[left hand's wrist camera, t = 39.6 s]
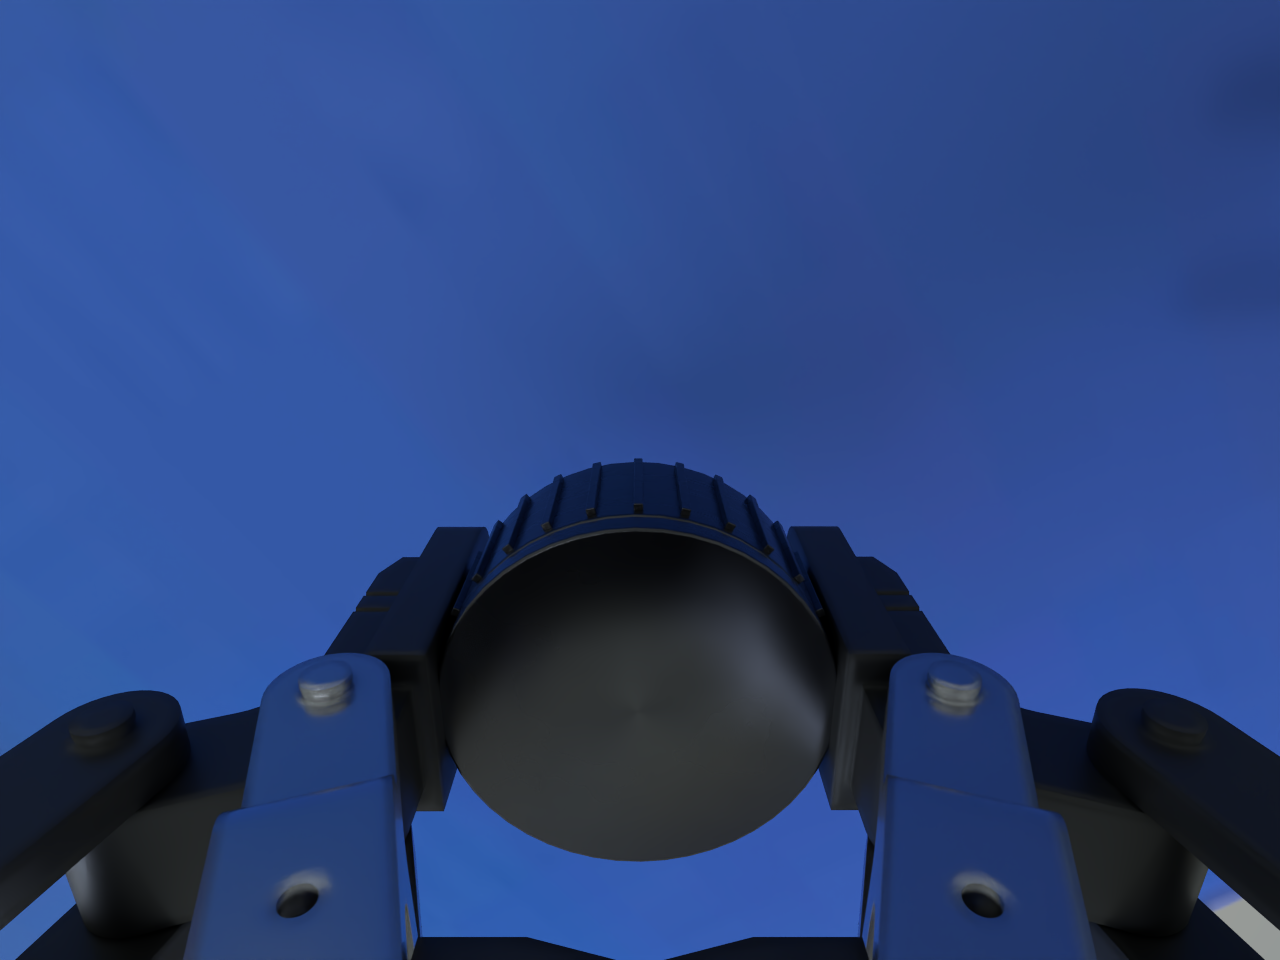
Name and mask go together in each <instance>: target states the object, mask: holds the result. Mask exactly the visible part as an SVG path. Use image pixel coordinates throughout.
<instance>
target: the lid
mask: <svg viewBox="0 0 1280 960" xmlns="http://www.w3.org/2000/svg"><path fill="white" fill-rule="evenodd" d="M451 615H453V616H455V617H457V618H456V620H455V623H454V625H453V628H452V630H451V632H450V635H449V637H448V639H447V642H446V644H445V647H444V650H443V654H442V658H441V662H440V665H439V670H438V679H439V690H440V699H441V708H442V717H443V726H444V734H445V741H446V745H447V748H448V751H449V753H450V756H451V757H452V759H453V761H454V763H455V765H456V766H457V768H458V770H459V772H460V774H461V775H462V776H463V778H464V779H465V780H466V782H467V783H468V784H469V786H470V787H471V788H472V790H473V791H474V792H475V793H476V794H477V795H478V796H479V797H480V798H481V799H482V800H483V801H484V802H485V803H486V805H487V806H488V807H489V808H491V809H492V810H493V811H494V812H496V813H497V814H498V815H499V816H501V817H502V818H503V819H504V820H506V821H507V822H508V823H510V824H512V825H513V826H515V827H516V828H518V829H520V830H521V831H523V832H524V833H526V834H528V835H530V836H532V837H534V838H536V839H538V840H540V841H543V842H545V843H547V844H549V845H552V846H555V847H558V848H561V849H563V850H566V851H569V852H573V853H577V854H581V855H585V856H589V857H594V858H601V859H608V860H616V861H640V862H641V861H657V860H668V859H674V858H680V857H686V856H691V855H695V854H698V853H702V852H706V851H709V850H713V849H715V848H718V847H720V846H723V845H726V844H728V843H731V842H733V841H735V840H737V839H739V838H741V837H743V836H745V835H747V834H749V833H751V832H753V831H754V830H756V829H758V828H759V827H761V826H762V825H764V824H765V823H767V822H768V821H770V820H771V819H773V818H774V817H775V816H776V815H777V814H779V813H780V812H781V811H782V810H783V809H784V808H786V807H787V806H788V805H789V804H790V803H791V802H792V801H793V800H794V799H795V798H796V797H797V796H798V794H799V793H800V792H801V791H802V790H803V789H804V788H805V787H806V785H807V784H808V782H809V781H810V780H811V778H812V777H813V775H814V774H815V772H816V771H817V770H818V768H819V766H820V764H821V762H822V760H823V758H824V756H825V754H826V752H827V750H828V747H829V741H830V734H831V725H832V716H833V707H834V698H835V689H836V678H837V668H836V662H835V658H834V655H833V652H832V649H831V646H830V642H829V640H828V637H827V635H826V632H825V630H824V628H823V626H822V623H821V621H820V618H819V617H822V616H824V615H825V613H824V610H823V608H822V606H821V603H820V601H819V599H818V597H817V594H816V592H815V590H814V587H813V585H812V583H811V581H810V578H809V576H808V574H807V571H806V569H805V567H804V565H803V562H802V560H801V558H800V555H799V553H798V551H796V552H794V553H793V551H792V548H791V546H790V544H789V541H788V539H787V537H786V534H785V532H784V530H783V527H782V525H781V524H780V523H779V521H776V522H775V523H773V522H772V521H771V520H770V519H769V518H768V517H767V516H766V515H765V514H764V512H763V511H762V510H761V509H760V508H759V507H758V504H757V501H756V499H755V498H754V497H753V496H751V495H749V496H748V497H747V498H746V497H745V496H744V495H743V494H741V493H739V492H738V491H736V490H735V489H733V488H731V487H730V486H728V485H726V484H725V483H724V482H723V479H722V477H720V476H718V475H715V476H714V478H712V477H709V476H707V475H705V474H702V473H699V472H696V471H693V470H689V469H686V468H684V464H682V463H677V462H676V464H675V466H672V465H666V464H660V463H644V462H642V459H634V462H630V463H617V464H609V465H604V466H602V465H601V462H599V463H594V464H593V467H592V468H589V469H586V470H583V471H580V472H577V473H574V474H571V475H568V476H566V477H564V478H563V477H562V475H561V474H560V475H558V476H556V477H554V480H553V483H551V484H549V485H547V486H546V487H544V488H543V489H541V490H540V491H538V492H537V493H535V494H534V495H532V496H531V497H529V496H528V495H527V494H526V495H524V496H523V497H522V498H521V499H520V502H519V505H518V507H517V508H516V509H515V510H514V511H513V512H512V513H511V514H510V515H509V516H508V518H507V519H506V520H505V521H504V522H503V523H502V522H501V521H499V520H498V521H497V522H496V524H495V525H494V527H493V529H492V532H491V534H490V536H489V539H488V541H487V544H486V546H485V548H484V551H483V552H481V551H478V553H477V555H476V557H475V559H474V562H473V564H472V566H471V569H470V571H469V573H468V575H467V578H466V580H465V582H464V585H463V587H462V589H461V591H460V594H459V596H458V598H457V601H456V603H455V605H454V607H453V610H452V612H451Z"/></svg>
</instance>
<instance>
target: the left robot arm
mask: <svg viewBox="0 0 1280 960" xmlns="http://www.w3.org/2000/svg"><path fill="white" fill-rule="evenodd" d="M488 539H489V535H488V531H487V529H486V527H438V528H437V529H436V530H435V532H434V534H433V535H432V537H431V539H430V540H429V542H428V544H427V546H426V547H425V549H424V551H423V552H422V554H421V556H420V557H403V558H401V559H400V560H398V561H397V562H395V563H394V564H392V565H391V566H389V567H388V568H386V569H385V570H383V571H382V572H380V573H379V574H378V575H377V577H376V578H375V580H374V581H373V583H372V584H371V586H370V587H369V589H368V590H367V592H366V596H363V598H362V599H361V601H360V602H359V604H358V605H357V607H356V612H353V613H352V614H351V616H350V617H349V619H348V620H347V622H346V623H345V625H344V626H343V628H342V629H341V631H340V632H339V634H338V635H337V637H336V638H335V640H334V641H333V643H332V644H331V646H330V647H329V649H328V650H327V652H326V653H325V655H324V656H320V657H316V658H313V659H310V660H307V661H305V662H302V663H300V664H297V665H296V666H294V667H292V668H290V669H288V670H286V671H285V672H283V673H282V674H280V675H279V676H278V677H277V678H276V679H274V680H273V681H272V682H271V684H270V685H269V686H268V687H267V689H266V690H265V692H264V694H263V697H262V699H261V705H260V707H257V708H254V709H251V710H248V711H244V712H239V713H235V714H230V715H225V716H220V717H215V718H210V719H205V720H200V721H195V722H190V723H186V724H185V722H184V718H183V715H182V711H181V707H180V705H179V702H178V701H177V700H176V699H175V698H174V697H173V696H171V695H169V694H166V693H163V692H159V691H150V690H148V691H130V692H124V693H118V694H114V695H110V696H106V697H103V698H100V699H97V700H94V701H91V702H89V703H86V704H84V705H82V706H79V707H77V708H75V709H73V710H71V711H69V712H67V713H65V714H64V715H62V716H60V717H59V718H57V719H56V720H54V721H53V722H51V723H50V724H48V725H47V726H45V727H44V728H42V729H41V730H39V731H38V732H36V733H35V734H33V735H32V736H30V737H29V738H27V739H26V740H24V741H23V742H21V743H20V744H18V745H17V746H15V747H14V748H12V749H11V750H9V751H8V752H6V753H5V754H3V755H2V756H0V930H1V929H2V928H4V927H5V926H6V925H7V924H8V923H9V922H10V921H12V920H13V919H14V918H15V917H16V916H17V915H18V914H20V913H21V912H22V911H23V910H24V909H25V908H26V907H28V906H29V905H30V904H31V903H32V902H33V901H34V900H36V899H37V898H38V897H39V896H40V895H41V894H42V893H44V892H45V891H46V890H47V889H48V888H49V887H51V886H52V885H53V884H54V883H55V882H56V881H57V880H59V879H60V878H61V877H62V876H63V875H64V874H66V877H67V879H68V882H69V885H70V887H71V890H72V893H73V896H74V898H75V901H76V904H75V905H74V906H73V907H72V908H71V909H70V910H69V911H68V912H66V913H65V914H64V915H63V916H62V917H61V918H60V919H59V920H58V921H57V922H56V923H55V924H53V925H52V926H51V927H50V928H49V929H48V930H47V931H46V932H45V933H44V934H43V935H42V936H40V937H39V938H38V939H37V940H36V941H35V942H34V943H33V944H32V945H31V946H30V947H29V948H27V949H26V950H25V951H24V952H23V953H22V954H21V955H20V956H19V957H18V958H17V959H16V960H614V959H610V958H606V957H602V956H598V955H594V954H591V953H587V952H583V951H579V950H575V949H571V948H567V947H563V946H559V945H555V944H552V943H548V942H544V941H540V940H536V939H532V938H528V937H422V927H421V915H420V903H419V890H418V878H417V866H416V854H415V846H414V839H413V832H412V825H411V824H412V821H413V818H414V815H415V812H416V811H444V809H445V806H446V802H447V799H448V796H449V793H450V790H451V786H452V783H453V780H454V777H455V773H456V770H457V766H456V765H455V763H454V761H453V759H452V757H451V756H450V753H449V751H448V748H447V745H446V741H445V734H444V726H443V717H442V708H441V699H440V690H439V679H438V670H439V665H440V662H441V658H442V654H443V650H444V647H445V644H446V642H447V639H448V637H449V635H450V632H451V630H452V628H453V625H454V623H455V620H456V618H457V617H455V616H453V615H451V612H452V610H453V607H454V605H455V603H456V601H457V598H458V596H459V594H460V591H461V589H462V587H463V585H464V582H465V580H466V578H467V575H468V573H469V571H470V569H471V566H472V564H473V562H474V559H475V557H476V555H477V553H478V551H481V552H483V551H484V548H485V546H486V544H487V541H488ZM787 539H788V541H789V544H790V546H791V548H792V551H793V553H794V552H796V551H798V553H799V555H800V558H801V560H802V562H803V565H804V567H805V569H806V571H807V574H808V576H809V578H810V581H811V583H812V585H813V587H814V590H815V592H816V594H817V597H818V599H819V601H820V603H821V606H822V608H823V610H824V613H825V615H824V616H822V617H819V618H820V621H821V623H822V626H823V628H824V630H825V632H826V635H827V637H828V640H829V642H830V646H831V649H832V652H833V655H834V658H835V662H836V668H837V678H836V689H835V698H834V707H833V716H832V725H831V734H830V741H829V747H828V750H827V752H826V754H825V756H824V758H823V760H822V762H821V764H820V766H819V772H820V775H821V778H822V782H823V785H824V788H825V792H826V795H827V798H828V801H829V805H830V808H831V810H859V813H860V816H861V818H862V821H863V824H864V827H865V830H866V832H867V839H866V846H865V854H864V866H863V878H862V890H861V902H860V914H859V927H858V937H752V938H748V939H744V940H740V941H736V942H732V943H728V944H725V945H721V946H717V947H713V948H709V949H705V950H701V951H697V952H693V953H689V954H686V955H682V956H678V957H674V958H670V959H666V960H1264V959H1263V958H1262V957H1261V956H1260V955H1259V954H1258V953H1257V952H1256V951H1255V950H1254V949H1252V948H1251V947H1250V946H1249V945H1248V944H1247V943H1246V942H1245V941H1244V940H1243V939H1242V938H1241V937H1239V936H1238V935H1237V934H1236V933H1235V932H1234V931H1233V930H1232V929H1231V928H1230V927H1229V926H1228V925H1227V924H1225V923H1224V922H1223V921H1222V920H1221V919H1220V918H1219V917H1218V916H1217V915H1216V914H1215V913H1214V912H1212V911H1211V910H1210V909H1209V908H1208V907H1207V906H1206V905H1205V904H1204V903H1203V902H1202V901H1201V900H1199V899H1198V895H1199V892H1200V890H1201V887H1202V884H1203V882H1204V879H1205V876H1206V873H1207V871H1208V868H1209V869H1210V870H1211V871H1212V872H1213V873H1215V874H1216V875H1217V876H1218V877H1219V878H1220V879H1221V880H1223V881H1224V882H1225V883H1226V884H1227V885H1228V886H1229V887H1231V888H1232V889H1233V890H1234V891H1235V892H1236V893H1237V894H1239V895H1240V896H1241V897H1242V898H1243V899H1244V900H1245V901H1247V902H1248V903H1249V904H1250V905H1251V906H1252V907H1254V908H1255V909H1256V910H1257V911H1258V912H1259V913H1260V914H1262V915H1263V916H1264V917H1265V918H1266V919H1267V920H1268V921H1270V922H1271V923H1272V924H1273V925H1274V926H1275V927H1276V928H1278V929H1279V930H1280V756H1278V755H1277V754H1275V753H1274V752H1272V751H1271V750H1269V749H1268V748H1266V747H1265V746H1263V745H1262V744H1260V743H1259V742H1257V741H1256V740H1254V739H1253V738H1251V737H1250V736H1248V735H1247V734H1245V733H1244V732H1242V731H1241V730H1239V729H1238V728H1236V727H1235V726H1233V725H1232V724H1230V723H1229V722H1227V721H1226V720H1224V719H1223V718H1221V717H1220V716H1218V715H1217V714H1215V713H1213V712H1212V711H1210V710H1208V709H1206V708H1204V707H1202V706H1200V705H1198V704H1196V703H1193V702H1191V701H1188V700H1186V699H1183V698H1180V697H1177V696H1174V695H1171V694H1167V693H1163V692H1159V691H1153V690H1147V689H1135V688H1127V689H1118V690H1114V691H1111V692H1108V693H1107V694H1105V695H1103V696H1102V697H1101V698H1100V699H1099V701H1098V703H1097V706H1096V710H1095V713H1094V717H1093V721H1092V723H1089V722H1084V721H1079V720H1074V719H1069V718H1064V717H1059V716H1054V715H1049V714H1044V713H1039V712H1035V711H1031V710H1027V709H1023V708H1020V705H1019V699H1018V697H1017V694H1016V692H1015V690H1014V689H1013V687H1012V686H1011V685H1010V684H1009V682H1008V681H1007V680H1006V679H1004V678H1003V677H1002V676H1001V675H1000V674H998V673H997V672H995V671H993V670H992V669H990V668H988V667H986V666H984V665H983V664H980V663H978V662H975V661H973V660H970V659H967V658H964V657H960V656H956V655H951V654H950V653H949V652H948V650H947V649H946V647H945V646H944V644H943V642H942V641H941V639H940V638H939V636H938V635H937V633H936V632H935V630H934V629H933V627H932V626H931V624H930V623H929V621H928V620H927V618H926V617H925V615H924V613H923V612H922V611H919V606H918V604H917V603H916V601H915V600H914V598H913V597H912V595H909V591H908V589H907V588H906V586H905V584H904V583H903V581H902V580H901V578H900V577H899V575H898V574H897V573H896V572H895V571H893V570H892V569H890V568H889V567H887V566H886V565H884V564H883V563H881V562H880V561H879V560H877V559H876V558H874V557H856V556H855V554H854V553H853V551H852V549H851V547H850V546H849V544H848V542H847V540H846V539H845V537H844V535H843V533H842V532H841V530H840V528H839V527H826V526H791V527H790V528H789V531H788V534H787Z"/></svg>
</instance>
